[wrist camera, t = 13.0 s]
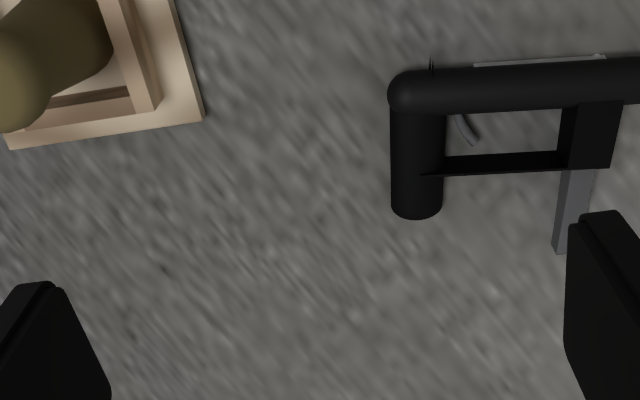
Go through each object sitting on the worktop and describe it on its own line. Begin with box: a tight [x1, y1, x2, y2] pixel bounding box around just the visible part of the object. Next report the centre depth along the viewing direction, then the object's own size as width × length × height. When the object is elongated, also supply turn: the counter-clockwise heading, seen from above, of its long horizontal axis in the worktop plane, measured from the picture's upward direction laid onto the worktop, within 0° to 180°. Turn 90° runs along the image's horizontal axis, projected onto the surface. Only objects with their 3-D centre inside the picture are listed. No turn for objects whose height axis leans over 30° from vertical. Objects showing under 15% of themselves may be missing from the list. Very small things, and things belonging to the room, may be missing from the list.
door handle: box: [387, 53, 640, 255], centre depth 42 cm, size 3×20×16 cm
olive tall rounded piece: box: [0, 0, 114, 133], centre depth 33 cm, size 6×6×11 cm
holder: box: [0, 0, 206, 150], centre depth 38 cm, size 14×14×4 cm
